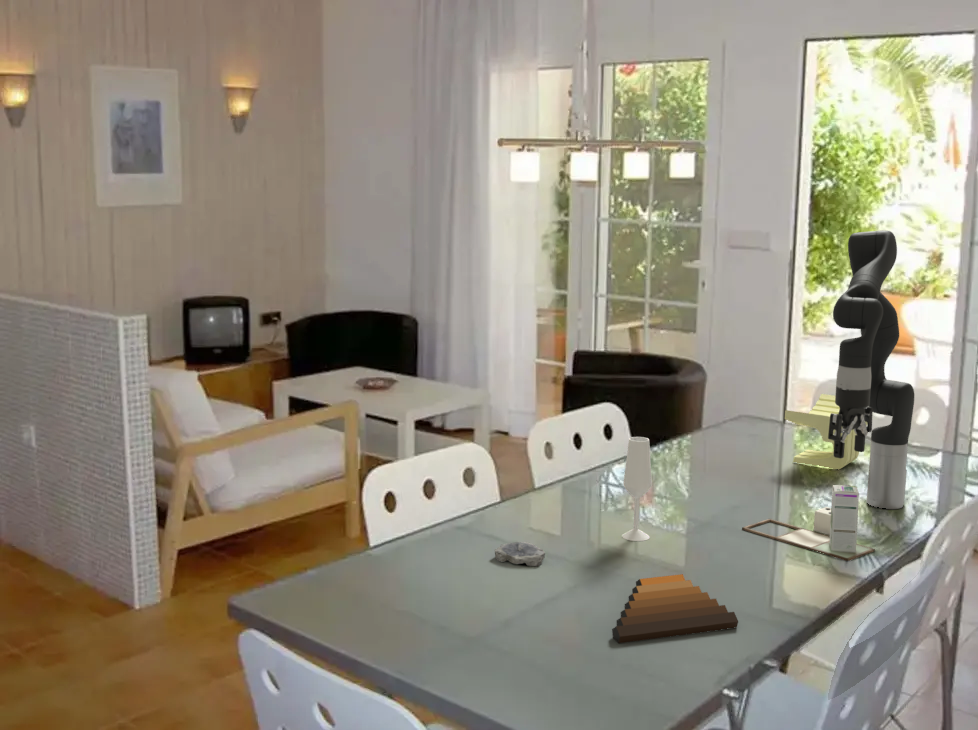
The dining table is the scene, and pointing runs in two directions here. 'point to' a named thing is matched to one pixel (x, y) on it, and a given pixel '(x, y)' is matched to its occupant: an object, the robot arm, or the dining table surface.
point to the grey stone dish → (520, 553)
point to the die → (822, 520)
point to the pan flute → (669, 611)
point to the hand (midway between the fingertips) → (848, 454)
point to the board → (811, 541)
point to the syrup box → (844, 518)
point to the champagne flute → (637, 480)
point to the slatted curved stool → (823, 434)
